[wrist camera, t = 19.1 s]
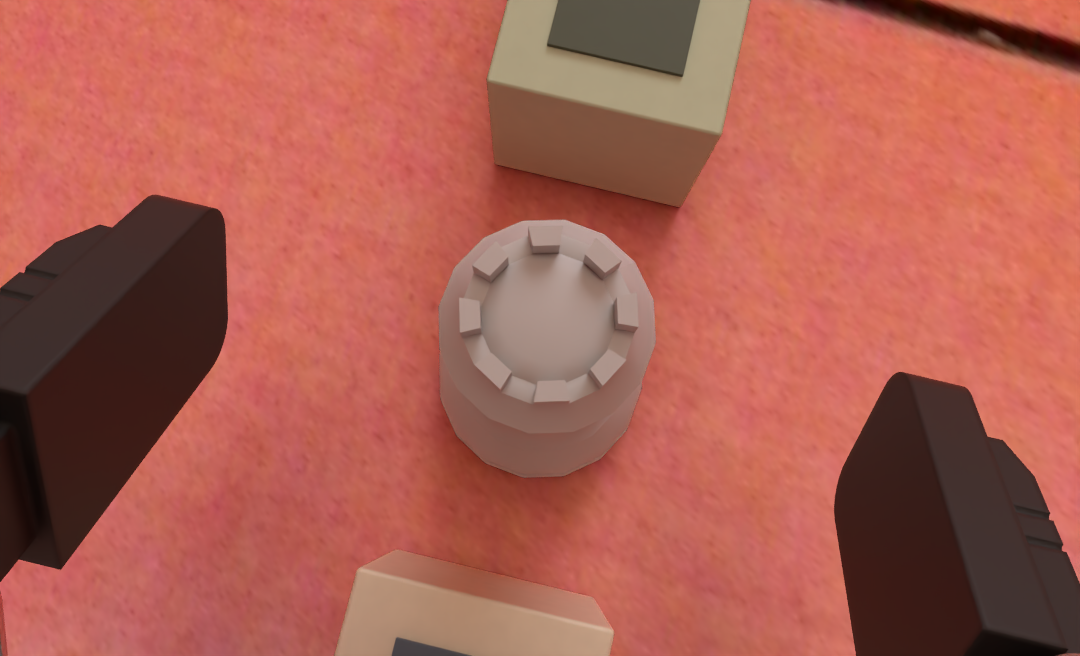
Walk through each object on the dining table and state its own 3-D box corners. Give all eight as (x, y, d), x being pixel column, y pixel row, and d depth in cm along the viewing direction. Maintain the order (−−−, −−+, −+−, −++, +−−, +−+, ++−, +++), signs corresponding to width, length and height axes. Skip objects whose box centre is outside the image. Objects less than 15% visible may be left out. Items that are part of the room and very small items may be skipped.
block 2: (680, 208, 21) (722, 134, 17) (493, 164, 21) (485, 78, 17) (719, 34, 22) (769, -83, 17) (537, -7, 22) (541, -134, 18)
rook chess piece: (561, 244, 21) (583, 100, 13) (678, 401, 20) (774, 348, 13) (401, 355, 21) (324, 275, 13) (516, 520, 20) (511, 543, 12)
